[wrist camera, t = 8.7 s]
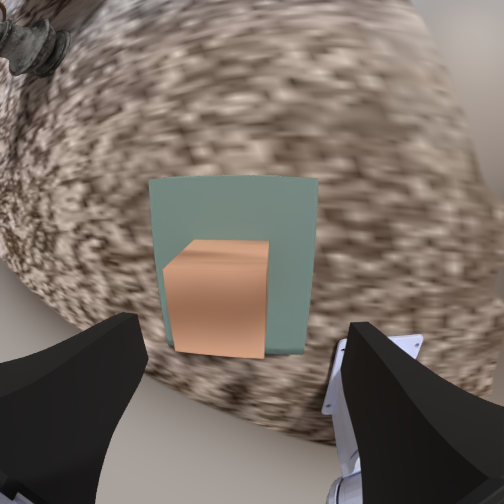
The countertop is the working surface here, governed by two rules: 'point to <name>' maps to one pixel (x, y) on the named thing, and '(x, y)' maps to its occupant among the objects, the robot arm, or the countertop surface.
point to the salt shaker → (33, 47)
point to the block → (219, 297)
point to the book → (245, 238)
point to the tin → (2, 12)
